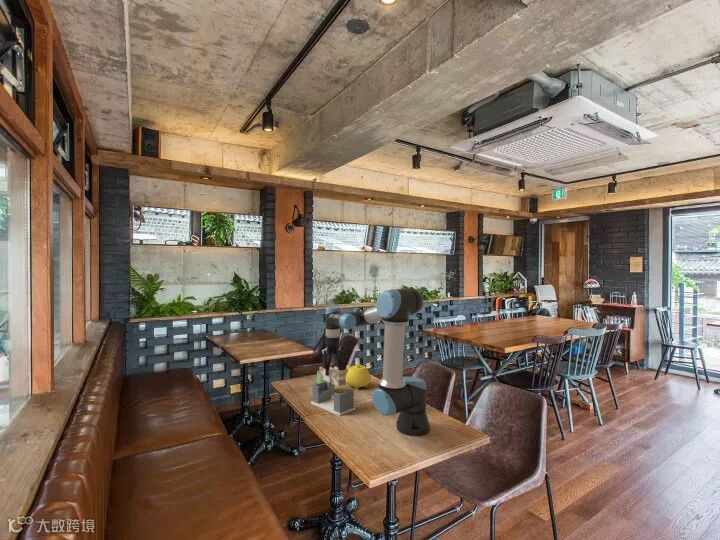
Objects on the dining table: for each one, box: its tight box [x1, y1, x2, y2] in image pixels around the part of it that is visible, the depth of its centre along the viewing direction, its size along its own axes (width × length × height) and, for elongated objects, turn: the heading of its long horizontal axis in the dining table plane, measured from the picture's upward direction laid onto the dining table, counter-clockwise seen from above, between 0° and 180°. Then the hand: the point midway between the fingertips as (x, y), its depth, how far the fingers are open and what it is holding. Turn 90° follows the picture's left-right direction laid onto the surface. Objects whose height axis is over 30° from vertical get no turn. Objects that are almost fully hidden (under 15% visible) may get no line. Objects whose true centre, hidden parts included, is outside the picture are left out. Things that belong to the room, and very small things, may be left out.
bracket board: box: [310, 381, 356, 417], centre depth 199 cm, size 23×11×10 cm, turn 45°
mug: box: [316, 369, 335, 395], centre depth 223 cm, size 13×10×12 cm
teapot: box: [346, 363, 372, 391], centre depth 234 cm, size 20×16×14 cm
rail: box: [319, 366, 347, 387], centre depth 199 cm, size 17×4×6 cm, turn 41°
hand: (332, 380), depth 199 cm, fingers closed on rail, 5 cm apart
